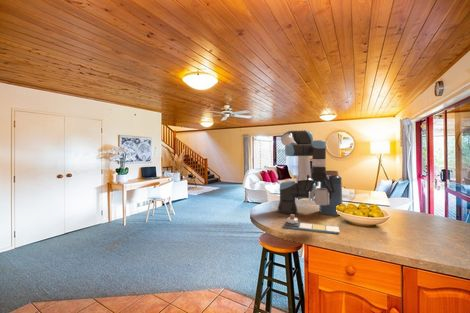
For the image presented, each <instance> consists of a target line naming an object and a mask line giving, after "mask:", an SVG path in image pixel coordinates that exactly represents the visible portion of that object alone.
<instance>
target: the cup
mask: <svg viewBox="0 0 470 313" xmlns="http://www.w3.org/2000/svg"><path fill="white" fill-rule="evenodd" d="M313 193H315V196H314V198H313ZM310 197H311V198H310V200H312V202H314V204H315V205H318V206H319V205H327V204H328V190H327V189H325V188H320V187H316V188H315V190H312V191H311V193H310Z"/></svg>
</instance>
